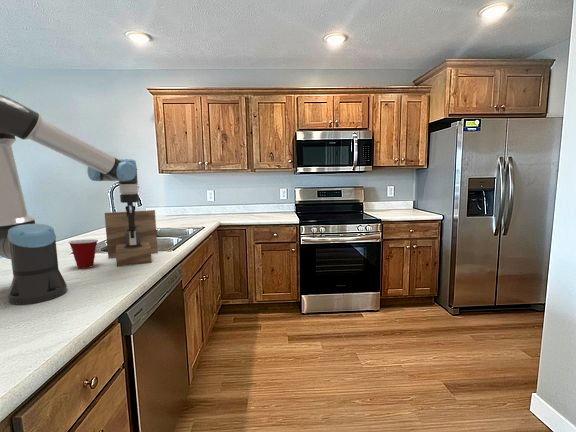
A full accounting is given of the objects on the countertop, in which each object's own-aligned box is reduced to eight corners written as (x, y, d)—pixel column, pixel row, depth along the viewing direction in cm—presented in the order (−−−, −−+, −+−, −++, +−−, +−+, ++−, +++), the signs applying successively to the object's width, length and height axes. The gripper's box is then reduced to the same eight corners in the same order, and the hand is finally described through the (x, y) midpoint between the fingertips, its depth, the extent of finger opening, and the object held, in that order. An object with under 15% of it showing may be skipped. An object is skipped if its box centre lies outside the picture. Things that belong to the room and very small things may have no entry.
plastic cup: (106, 263, 140) (103, 237, 138) (88, 270, 129) (85, 242, 128) (84, 262, 141) (81, 237, 140) (64, 270, 130) (61, 242, 129)
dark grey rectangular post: (141, 258, 144) (139, 233, 141) (127, 260, 141) (125, 235, 139) (141, 256, 146) (139, 232, 144) (127, 258, 144) (125, 233, 141)
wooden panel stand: (161, 261, 143) (158, 214, 140) (106, 268, 133) (101, 217, 130) (157, 251, 161) (154, 210, 158) (108, 257, 151) (104, 212, 148)
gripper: (139, 194, 133) (142, 246, 136) (137, 192, 150) (141, 239, 153) (119, 194, 130) (123, 248, 133) (120, 192, 146) (124, 240, 149)
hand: (133, 243), depth 143 cm, fingers open, 5 cm apart
